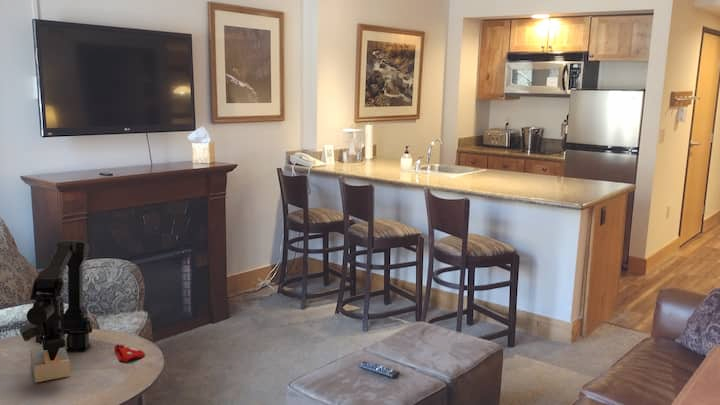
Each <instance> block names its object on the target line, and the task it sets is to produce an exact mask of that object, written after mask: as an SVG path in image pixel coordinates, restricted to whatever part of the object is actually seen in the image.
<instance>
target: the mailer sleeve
mask: <svg viewBox="0 0 720 405" xmlns="http://www.w3.org/2000/svg"><path fill="white" fill-rule="evenodd" d="M66 349H67V348H66V346H65V347H63V348H59V361H61V360H67V359H69V360H70V358H69V355H68V351H66ZM45 351H48V350H43V348H42V346H38V347H37V346H35V347H30V350H29V352H30V366H31V371H32V375H33V380H34V381H35V368H34V365H39V364H44V363H45Z"/></svg>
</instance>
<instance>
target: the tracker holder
mask: <svg viewBox="0 0 720 405" xmlns="http://www.w3.org/2000/svg"><path fill="white" fill-rule="evenodd" d="M113 347H114V352H115V354H116V356H117V359H118V361H119V362H123V363H126V362H128V361H129V360H131V359H134V358H144V357H145V354H146V353H145V352H144V351H143V350H141V349H139V348H138V347H136V346H126V344H122V343H116V344H115V345H113Z"/></svg>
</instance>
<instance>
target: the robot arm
mask: <svg viewBox="0 0 720 405" xmlns="http://www.w3.org/2000/svg"><path fill="white" fill-rule="evenodd" d="M89 252H90V246H89V243H87V242H86V241H85V240H84V241H83V240H60V241H58V242H57V247H56V250H55V252H54V254H53V255H52V257H51V260H50V262H49V264H48V265H47V267H46V268H44V269H42V270H41V271H40V272H39V273H38V274H37V276H36V277H35V279H34V280H33V285H32V289H31V294H30V298H29V299H30V301H34V302H33V303H32V307H31V308H29V309H28V311H27V313H26V320H27V321H28V324H26V325H24V326H22V327H20V328H19V334H20V335H21V337H22V339H23V341H24V342H28V341H30V340H32V339H33V338H36V336H38V335H39V334H40V340H41V341H42V342H41V344H42V345H41V344H40V345H41V347H42V348H43V350H48V354H49V357H50V361H53V360H54V359H55V357H56V355H57V353H58V350H59V348H63V347H65V349H66V352H75V351H79V352H80V351H82V353H83V352H84V353H85V351H87V350H88V349H89V348H90V346H91V345H92V344H91V343H90V340H89V339H90V338H89V336H90V335H89V334H91V333H93V323H92V321H91V319H90V318H89V311H88V310H87V308H86V307H85V306H84V304H83V302H84V297H83V296H84V295H83V294H84V293H83V291H84V290H83V288H84V285H83V284H84V283H83V281H84V280H83V278H84V277H83V273H84V270H83V268H84V267H83V265H84V263H85V262H86V260H87V259H88V254H89ZM66 268H67V290H68V291H67V301H68V303H67V304H68V305H67V308H66V310H65V311H64V314H63V319H62V329H63V334H65V335H66V336H65V339H64V337H63V336H62V335H60V333H62V329H61V322H60V320H61V316H60V298H61V296H62V294H63V290H64V286H65V282H64V279H63V274H64V272H65V270H66ZM59 297H60V298H59ZM35 301H36V302H35ZM79 352H78V353H79ZM80 353H81V352H80Z"/></svg>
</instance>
